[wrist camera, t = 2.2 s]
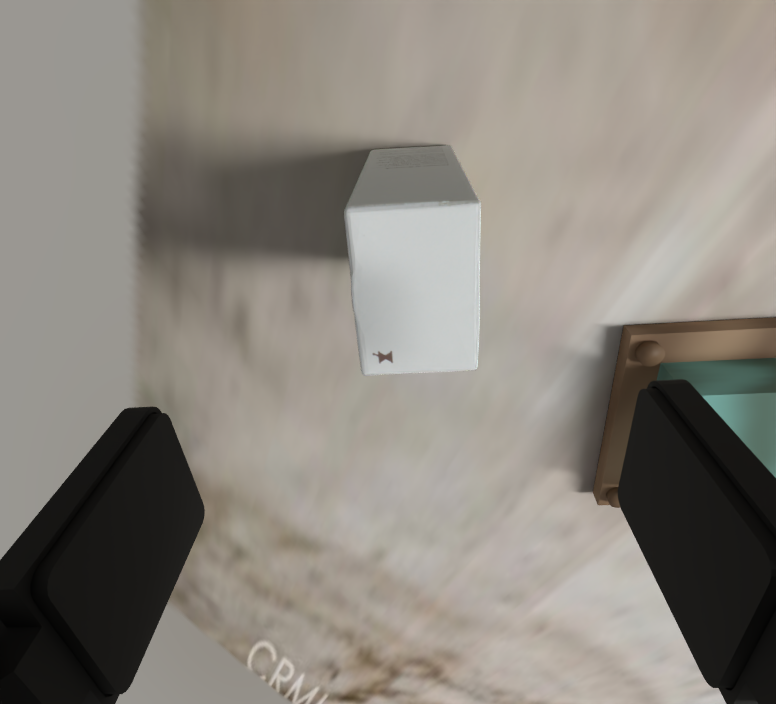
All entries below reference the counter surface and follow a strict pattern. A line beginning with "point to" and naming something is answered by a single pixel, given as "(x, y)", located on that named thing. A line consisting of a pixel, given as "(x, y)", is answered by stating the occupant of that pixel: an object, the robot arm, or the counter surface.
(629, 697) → the counter surface
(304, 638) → the counter surface
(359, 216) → the skincare box
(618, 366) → the tower base
